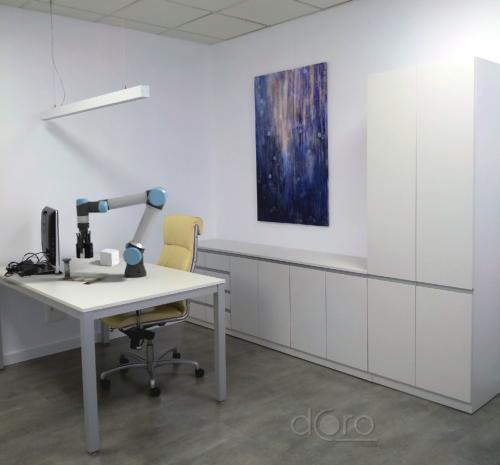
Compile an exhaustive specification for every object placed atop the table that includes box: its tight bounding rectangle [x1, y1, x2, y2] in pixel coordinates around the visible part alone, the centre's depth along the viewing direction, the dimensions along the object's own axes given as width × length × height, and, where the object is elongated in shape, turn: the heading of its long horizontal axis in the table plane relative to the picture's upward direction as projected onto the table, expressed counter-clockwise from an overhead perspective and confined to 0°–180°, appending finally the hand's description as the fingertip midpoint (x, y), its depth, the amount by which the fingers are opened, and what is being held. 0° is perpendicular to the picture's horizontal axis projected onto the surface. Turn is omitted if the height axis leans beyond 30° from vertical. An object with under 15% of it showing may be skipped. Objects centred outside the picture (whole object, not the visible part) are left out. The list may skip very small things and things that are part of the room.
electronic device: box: [75, 242, 94, 260], centre depth 353 cm, size 4×10×10 cm, turn 78°
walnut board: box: [56, 275, 104, 285], centre depth 357 cm, size 27×15×2 cm, turn 74°
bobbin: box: [61, 257, 73, 279], centre depth 358 cm, size 6×6×13 cm
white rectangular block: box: [99, 248, 120, 267], centre depth 423 cm, size 14×29×10 cm, turn 21°
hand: (84, 257), depth 353 cm, fingers closed on electronic device, 4 cm apart
